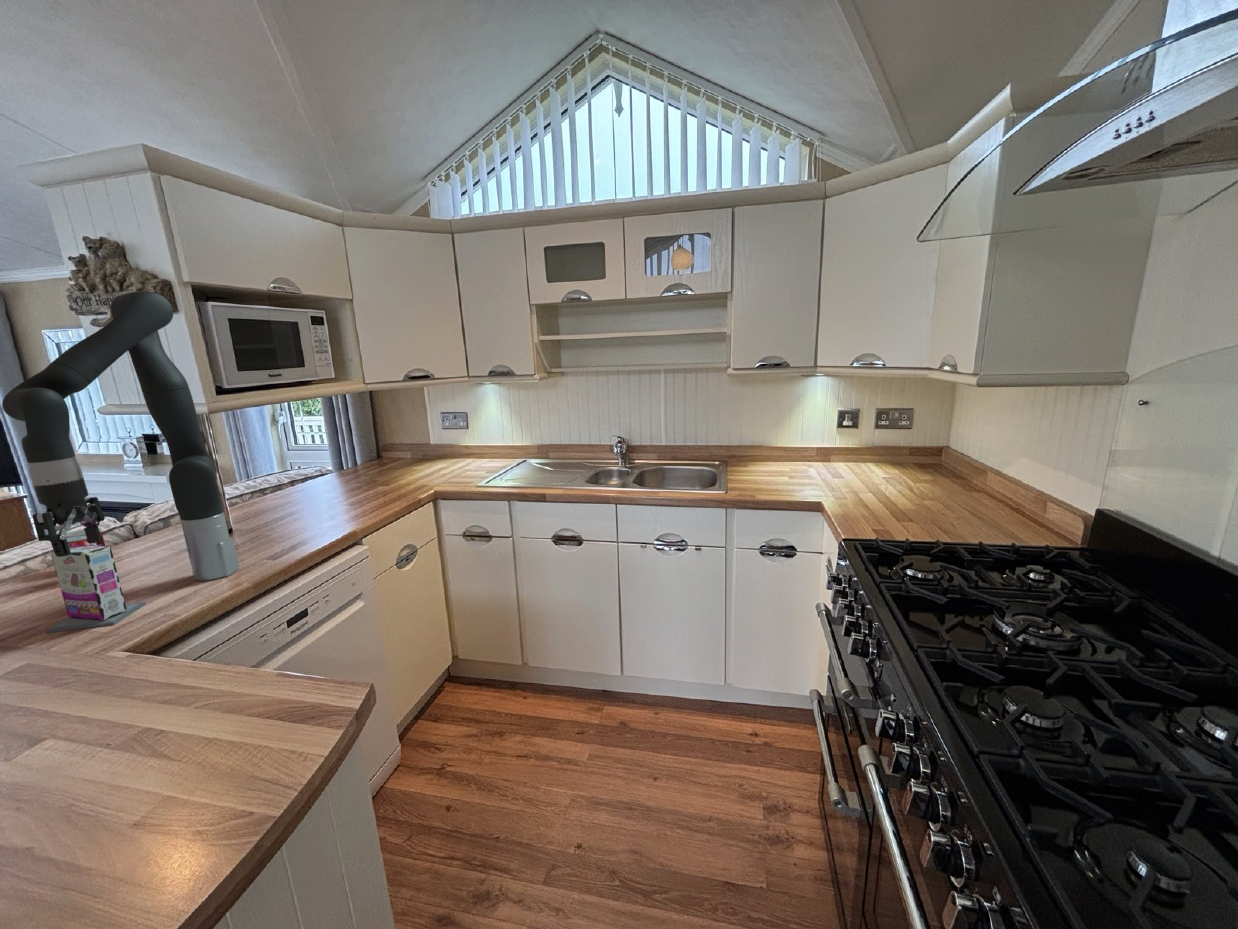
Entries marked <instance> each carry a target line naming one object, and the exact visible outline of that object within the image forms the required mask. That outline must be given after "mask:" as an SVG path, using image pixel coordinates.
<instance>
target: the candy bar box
mask: <svg viewBox="0 0 1238 929" xmlns="http://www.w3.org/2000/svg"><path fill="white" fill-rule="evenodd" d="M69 549H70V552H71V554H70V555H68V556H63V557H57V556H56V555H55V553H54V550H53V551H50V552H49V553H50V557H51V560H52V562H53V567H54V571H55V573H56V578H57V581H58V584H59V588H60V591H61V596H62V599H63V601H64V605H65V609H66V612H67V615H68V617H69V618H78V619H92V620H107V619H109V618H112V617H114V616H117V615H119V614H121V613H124V612H126V611H127V608H126V604H127V603H126V601H125V597H124V594H123V589H122V585H121V582H120V579H119V573H118V570H117V565H116V562H115V558H114V555H113V551H112V547H111V546H109V545H107V546H106V545H105V546H90V545H74V546H70V547H69Z"/></svg>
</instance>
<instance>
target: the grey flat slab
mask: <svg viewBox="0 0 1238 929" xmlns="http://www.w3.org/2000/svg"><path fill="white" fill-rule="evenodd" d="M125 604H126V608H127V611H126V612H124V613H121V614H119V615H117V616H114V617H112V618H109V619H107V620H92V619H78V618H69V616H68V617H66V618H65V619H63V620H61V621H59V622H57V623H55V624H53V626H51V627H49V628H46V629H45V630H44V632H45V633H56V632H64V631H65V632H66V631H74V630H80V629H82V630H83V629H88V628H89V629H91V628H97V627H106V626H115V625H117V624H118V623H120V622H121V621H122V620H124V619H125V618H127V617H129V616H130V615H132V614H133V613H135V612H136V611H137V610H139V609H141V608H142V607H144V606H145V605H146V604H147V603H146V601H143V602H133V603H132V602H131V603H125Z"/></svg>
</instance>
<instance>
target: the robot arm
mask: <svg viewBox="0 0 1238 929" xmlns="http://www.w3.org/2000/svg"><path fill="white" fill-rule="evenodd" d="M110 314H111V316H112V320H111V321H110V322H108V323H107V324H106V325H105V326H103V327H102V328H100V329H99V330H97V331H96V332H93V333H92V334H91V335H89V336H87V337H85V338H84V339H82V340H79V341H78V342H77V343H75V344H73V345H72V346H71V347H69V348H67V349H66V350H65V351H64V352H63V353H62V354H60V355H59V356H58V357H56V358H55V359H54V360H53V361H52V362H50V363H49V364H48V365H47V366H46V367H45V368H44V369H43V370H41V371H39V372H38V373H36V374H34V375H33V376H30V377H29V378H27V379H26V380H24V381H23V382H21V383H20V384H17V385H16V386H15V387H13V388H12V389H11V390H10V391H9V392H7V393H6V394H5V395H4V397H3V399H2V404H1V406H2V410H3V411H4V413H5V414H6V415H7V416H9V417H10V418H12V419H14V420H16V421H20V422H24V423H25V429H26V435H24V437H22V439H21V447H22V449H23V452H24V457H25V458H26V459H25V460H26V463H27V465H28V466H27V467H28V473H29V477H30V479H31V483H32V486H33V490H34V492H35V495H36V499H37V503H38V504H40V505H44V506H45V507H46V509H45V512H38V513H33V514H32V521H33V524H34V528H35V531H36V534H37V539H38V541H39V542H49V543H51V546H52V547H51V548H52V550H53V551H54V553H55V555H56V556H57V557H63V556H68V555H70V554H71V552H70V549H69V546H68V542H67V539H65V537H66V534H67V533H68V531H69V530H71V528H72V525H75V524H76V523H79V524H80V525H81V526H83V527H84V528H83V529H84V531H85V534H86V537H87V540H88V542H89V543H97V542H100V541H101V535H100V532H99V528H100V527H99V526H100V523H101V522H102V521H105V515H104V511H103V508H102V506H101V503H100V501H99V498H98V497H97V496H94V497H92V496H91V497H90V496H89V491H88V488H87V484H86V481H85V479H84V474H83V471H82V468H81V466H80V463H79V461H78V459H77V457H76V455H75V454H76V453H75V451H74V447H73V444H72V441H71V439H70V432H71V430H70V422H71V421H70V411H69V407H68V404H67V402H66V400H65V399H67V397H69V396H70V395H73V394H76V393H79V392H81V391H83V390H85V389H86V388H88V387H89V385H91V384H92V383H93V382H94V381H95V380H96V379H98V377H100V376H101V375H102V374H103V373H104V372H105V371H106V370H108V368H109V367H111V365H113V364H114V363H115V362H116V361H117V360H119V359H121V357H122V356H123V355H124V354H125V353H127V352H128V354H129V357H130V359H131V362H132V365H133V367H134V368H133V369H134V372H135V374H136V377H137V379H138V383H139V385H140V390H141V393H142V396H143V398H144V401H145V405H146V407H147V410H148V412H149V414H150V416H151V417H152V420H153V421H154V423H155V424H156V427H157V428H158V430H159V431H160V432H161V435H162V436H163V438H164V440H165V443H166V444H167V448H168V452H169V455H170V460H171V468H170V471H169V474H168V480H169V481H168V482H169V485H170V489H171V493H172V497H173V501H174V505H175V509H176V510H177V512H178V514H179V520H180V523H181V529H182V532H183V537H184V541H185V545H186V549H187V553H188V558H189V562H190V566H191V570H192V574H193V578H194V580H195V581H198V582H202V581H203V582H204V581H211V580H216V579H220V578H224V577H229V576H230V575H231V574H233V573H234V572H236V571H237V570H238V569H239V568H240V564H239V559H238V554H237V550H236V544H235V540H234V536H230V533H229V529H228V526H227V525H228V524H227V521H226V516H225V511H224V506H223V503H222V500H221V496H220V492H219V489H218V484H217V479H216V477H217V469H216V466H215V464H214V462H213V460H212V457H211V456H210V453H209V451H208V450H207V447H206V445H205V443H204V441H203V438H202V435H201V431H200V430H201V429H200V424H199V419H198V414H197V410H196V406H195V403H194V399H193V396H192V393H191V390H190V386H189V384H188V382H187V380H186V377H185V376H184V374H183V373H182V372H181V371H180V369H179V368H178V367H177V365H176V364H175V363H174V362H173V361H172V360H171V359H170V357H169V356H168V354H167V352H166V351H165V349H164V347H163V344H162V342H161V337H160V333H159V331H160V330H161V329H163V328H164V327H167V326H168V325H169V324H170V323H171V321H172V320H173V318H174V308H173V306H172V303H170V302H169V300H168V299H167V298H165V297H164V296H163V295H161V294H159V293H158V292H154V291H151V290H150V291H149V290H136V291H131V292H130V291H129V292H128V293H123V294H119V295H116V296H115V297H114V298H113V299H112V301H111V303H110ZM94 513H96V516H95V514H94ZM45 530H47V534H46V531H45ZM57 532H58V534H57Z"/></svg>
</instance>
